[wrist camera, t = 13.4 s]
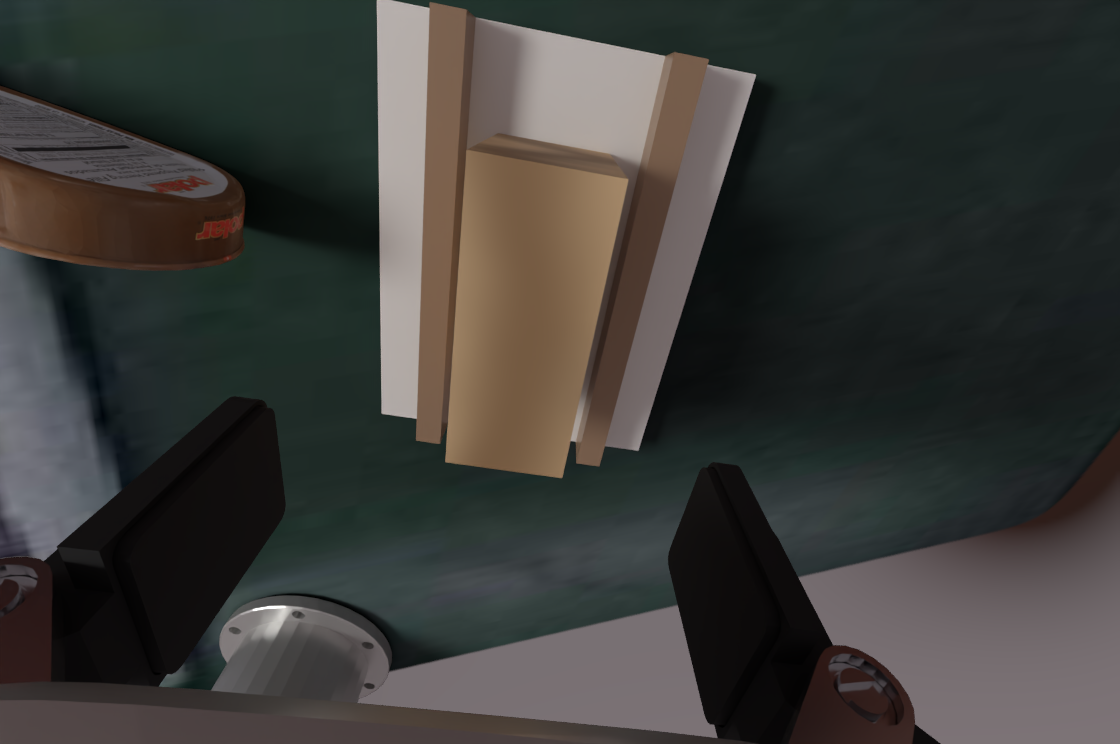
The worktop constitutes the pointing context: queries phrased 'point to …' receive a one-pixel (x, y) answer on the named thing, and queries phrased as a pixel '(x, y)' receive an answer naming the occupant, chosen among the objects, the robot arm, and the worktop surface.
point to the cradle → (561, 118)
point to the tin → (109, 194)
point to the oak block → (528, 298)
